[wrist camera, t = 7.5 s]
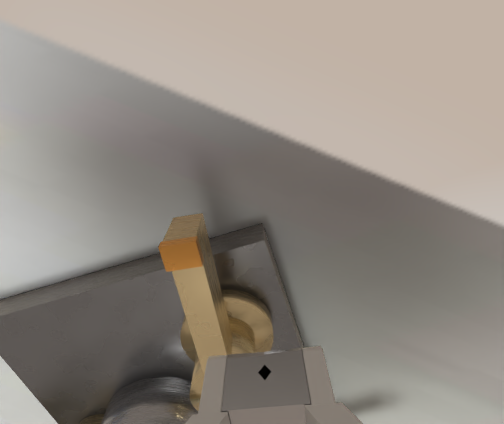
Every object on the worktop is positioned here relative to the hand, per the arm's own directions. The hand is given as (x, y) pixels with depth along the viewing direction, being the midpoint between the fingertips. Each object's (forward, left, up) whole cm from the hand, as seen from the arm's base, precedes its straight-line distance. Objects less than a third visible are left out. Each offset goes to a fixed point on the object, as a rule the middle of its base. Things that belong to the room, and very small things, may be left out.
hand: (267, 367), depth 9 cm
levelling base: (+8, +12, -10) cm, 18 cm away
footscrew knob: (+3, +3, -8) cm, 9 cm away
